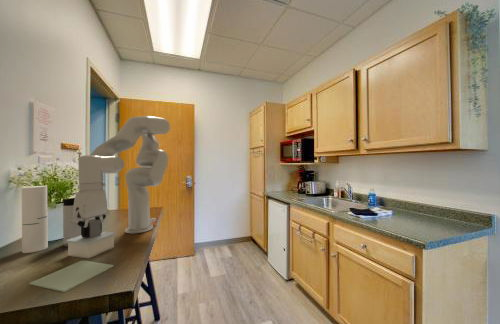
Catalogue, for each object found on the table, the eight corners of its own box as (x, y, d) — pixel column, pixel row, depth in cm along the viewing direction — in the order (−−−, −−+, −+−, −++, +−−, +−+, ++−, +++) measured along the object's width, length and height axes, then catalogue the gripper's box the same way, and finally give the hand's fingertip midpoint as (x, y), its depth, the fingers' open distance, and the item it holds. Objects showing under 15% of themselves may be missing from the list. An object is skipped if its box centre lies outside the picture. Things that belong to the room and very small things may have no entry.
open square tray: (95, 245, 86) (95, 233, 86) (114, 247, 83) (113, 235, 83) (68, 255, 76) (68, 242, 76) (88, 258, 73) (88, 244, 73)
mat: (82, 261, 71) (82, 260, 71) (113, 266, 67) (113, 265, 67) (29, 284, 58) (29, 282, 58) (64, 292, 54) (64, 290, 54)
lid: (95, 232, 86) (95, 216, 86) (115, 234, 83) (115, 217, 83) (65, 242, 76) (65, 223, 76) (87, 245, 73) (87, 225, 73)
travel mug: (72, 247, 84) (71, 198, 84) (59, 246, 85) (58, 197, 85) (87, 241, 90) (86, 195, 90) (74, 240, 91) (74, 195, 92)
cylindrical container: (52, 246, 85) (51, 185, 85) (28, 254, 78) (28, 187, 78) (41, 244, 87) (40, 185, 87) (17, 251, 80) (17, 187, 81)
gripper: (104, 185, 89) (105, 227, 89) (59, 190, 73) (59, 242, 72) (118, 185, 87) (118, 229, 86) (74, 190, 71) (75, 244, 70)
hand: (91, 234), depth 79 cm, fingers closed on lid, 4 cm apart
